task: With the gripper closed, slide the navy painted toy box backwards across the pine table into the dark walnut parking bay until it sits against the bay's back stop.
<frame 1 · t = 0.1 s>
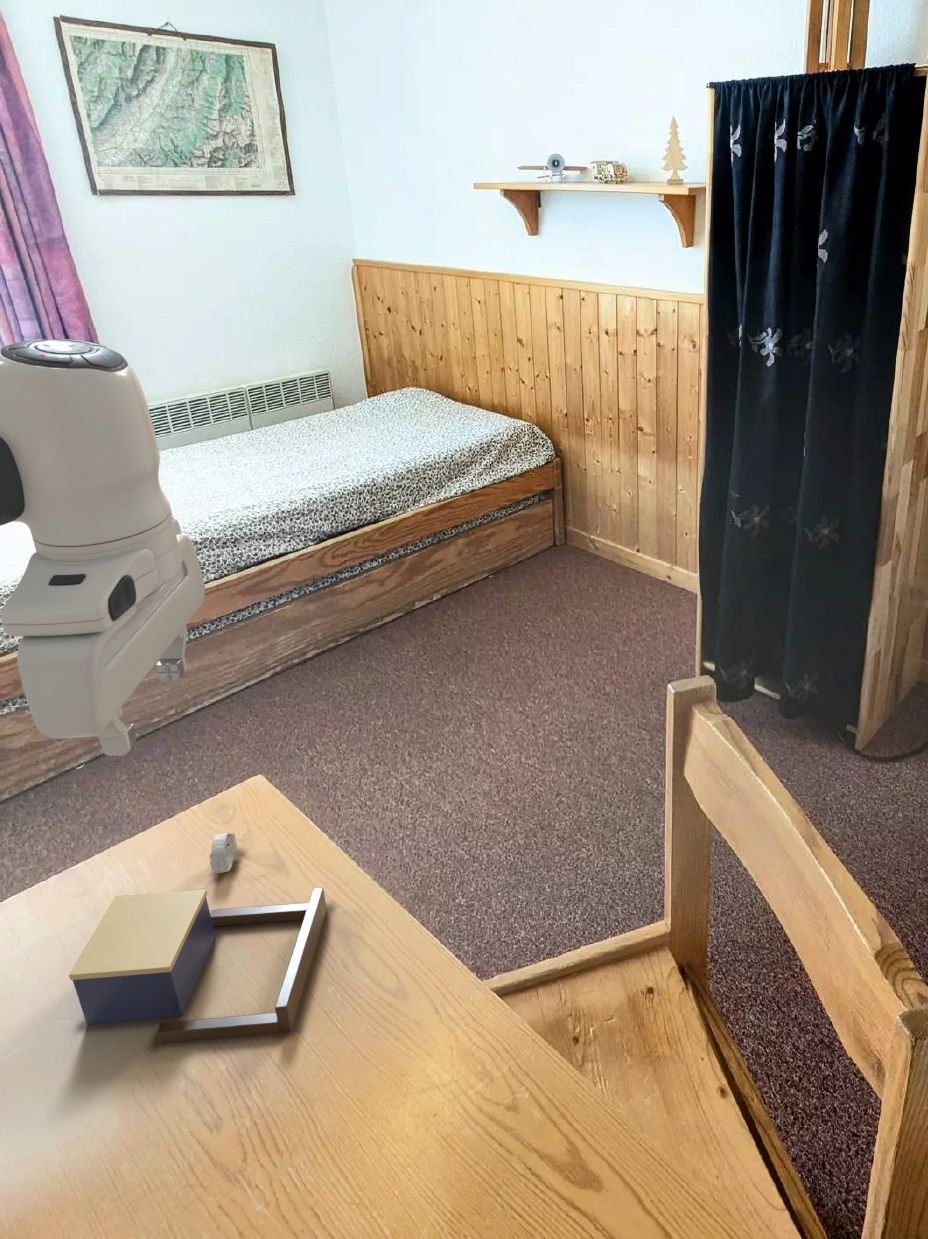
hand: (149, 711, 67), 29 cm above the table, tool pointing down, fingers open, 8 cm apart
toy box: (154, 978, 76), on the table
bay: (244, 971, 77), on the table
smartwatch: (226, 867, 88), on the table
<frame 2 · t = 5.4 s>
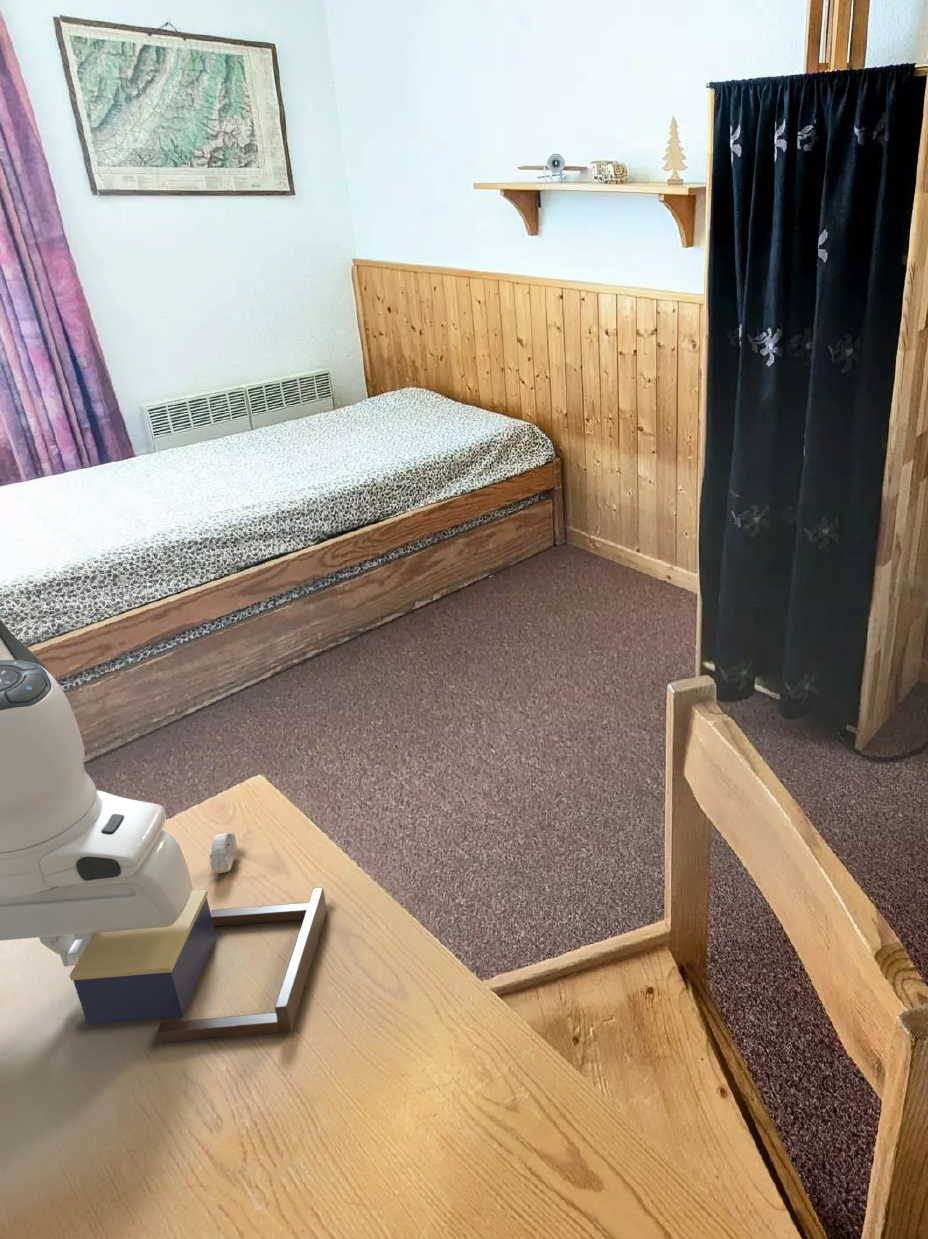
hand: (82, 959, 75), 3 cm above the table, tool pointing down, fingers closed
toy box: (155, 979, 76), on the table, touching gripper
everything else where it was.
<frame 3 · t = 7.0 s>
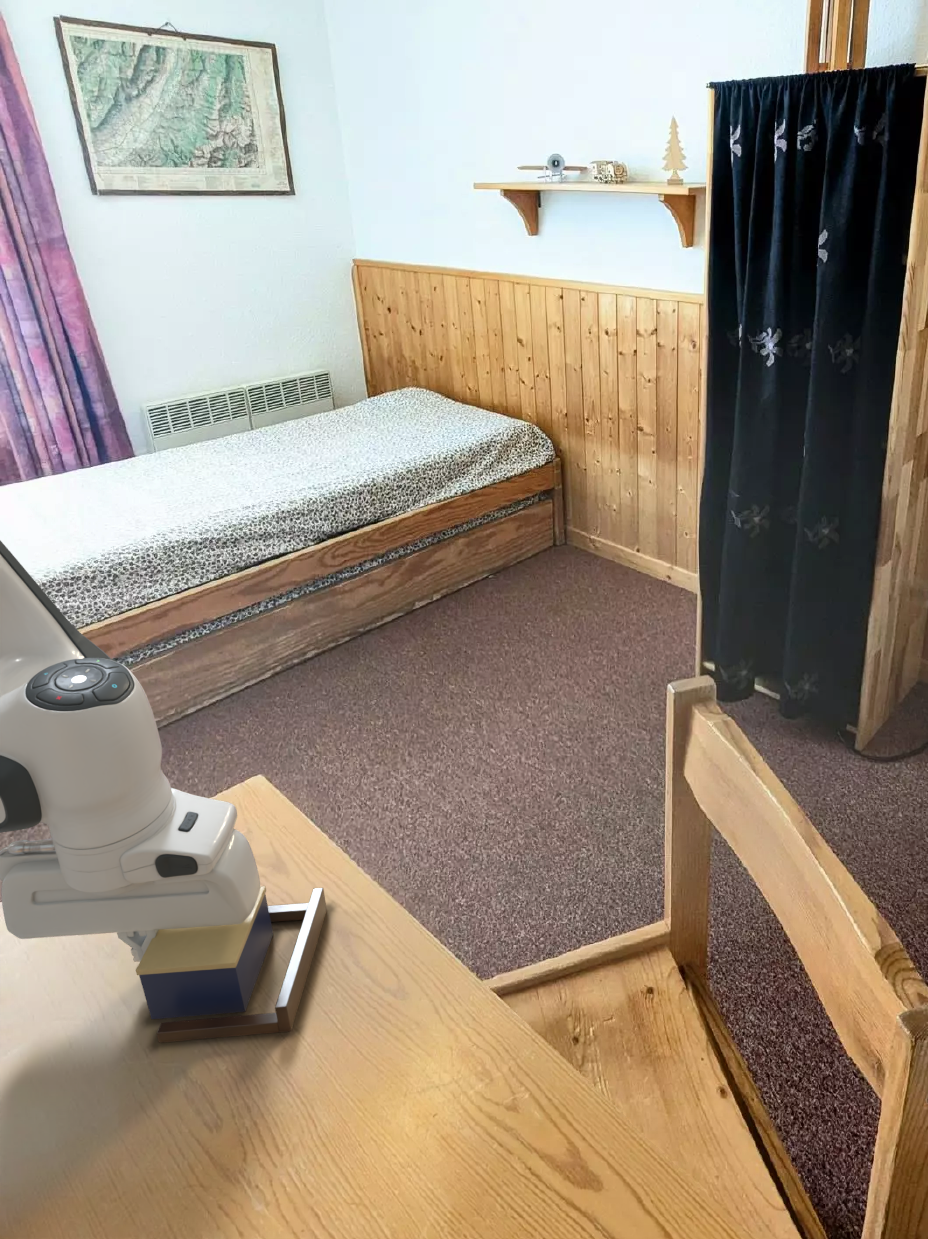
hand: (150, 954, 75), 3 cm above the table, tool pointing down, fingers closed
toy box: (215, 974, 77), on the table, touching gripper
everything else where it was.
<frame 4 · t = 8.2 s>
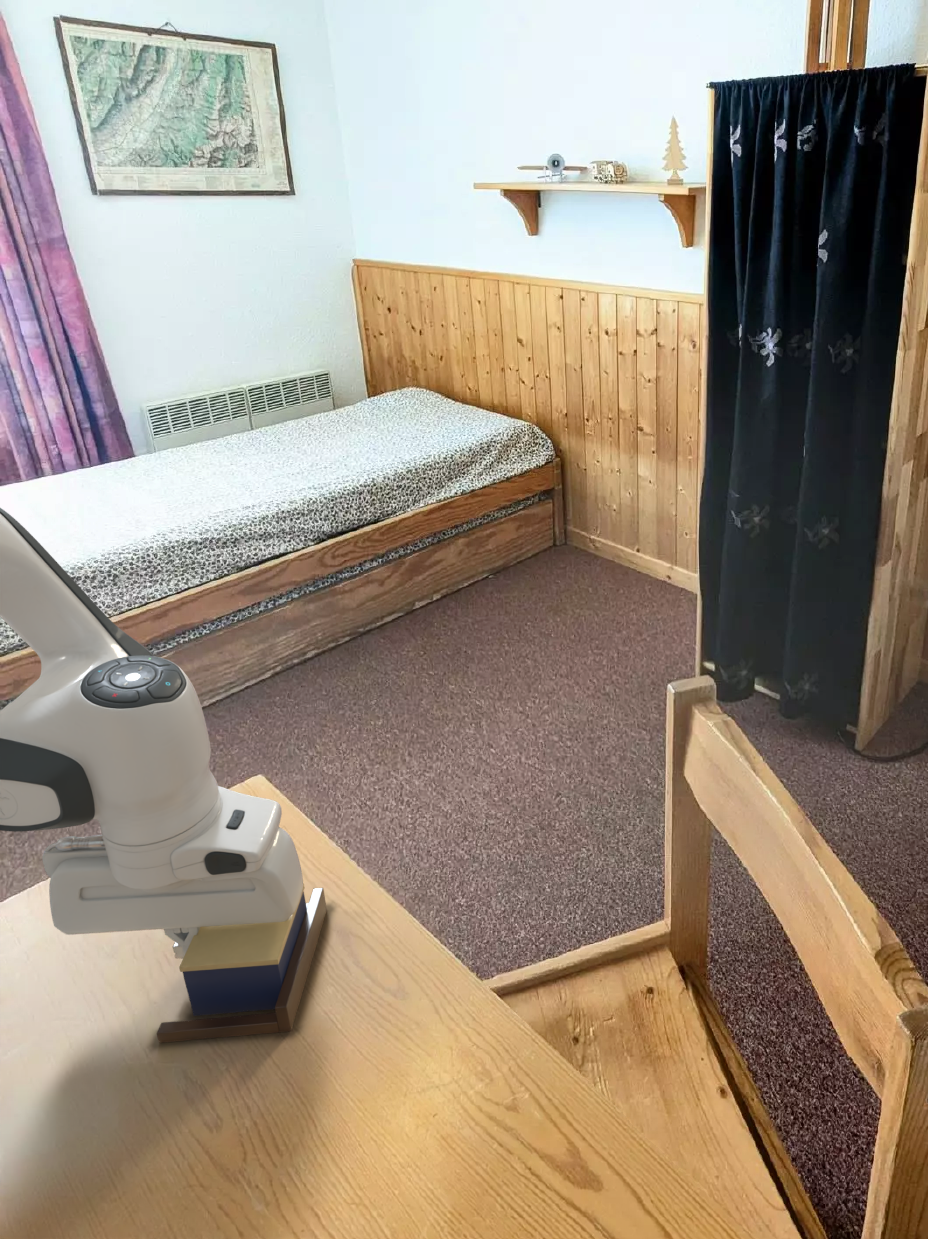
hand: (193, 951, 75), 3 cm above the table, tool pointing down, fingers closed, pressing on toy box
toy box: (255, 971, 77), on the table, touching bay, gripper
everything else where it was.
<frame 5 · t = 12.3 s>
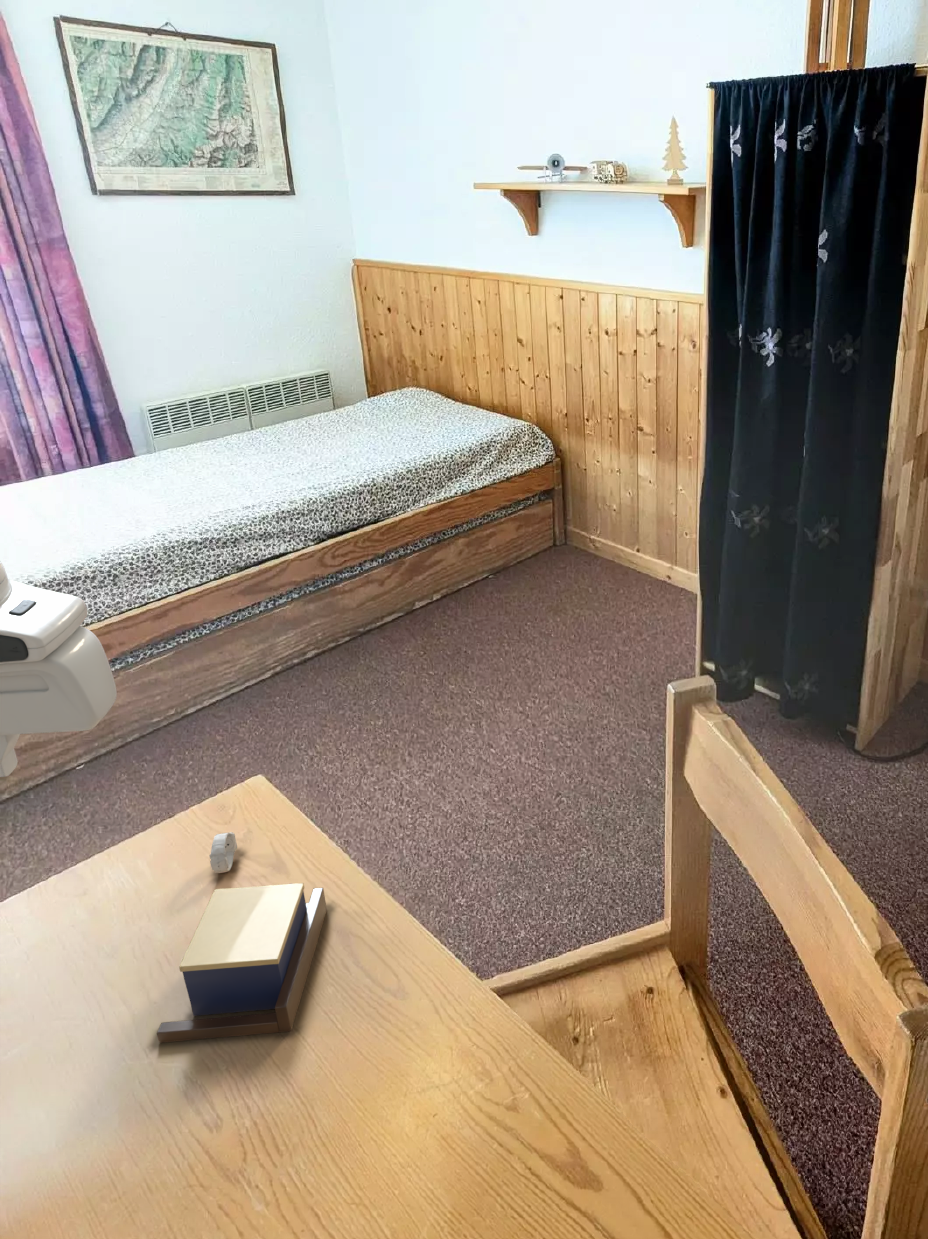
toy box: (255, 971, 77), on the table
everything else where it was.
at the end: toy box 0.8 cm from the target spot, on the table; toy box moved 9.0 cm from its start; toy box tilted 0° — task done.
